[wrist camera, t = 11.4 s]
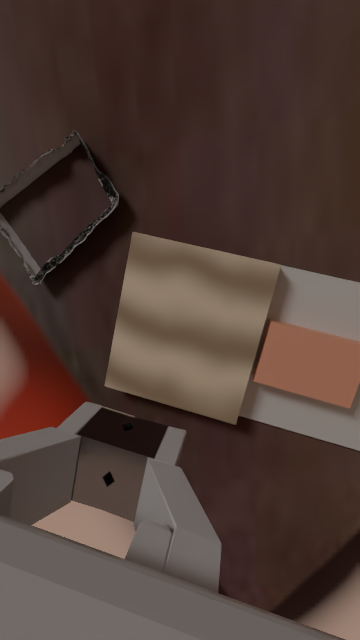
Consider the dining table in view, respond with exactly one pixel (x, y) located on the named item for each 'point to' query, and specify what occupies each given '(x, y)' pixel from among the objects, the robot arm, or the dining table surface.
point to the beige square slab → (189, 325)
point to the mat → (321, 315)
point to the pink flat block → (309, 363)
